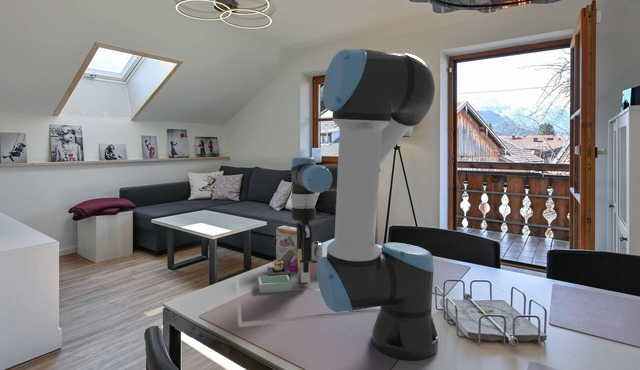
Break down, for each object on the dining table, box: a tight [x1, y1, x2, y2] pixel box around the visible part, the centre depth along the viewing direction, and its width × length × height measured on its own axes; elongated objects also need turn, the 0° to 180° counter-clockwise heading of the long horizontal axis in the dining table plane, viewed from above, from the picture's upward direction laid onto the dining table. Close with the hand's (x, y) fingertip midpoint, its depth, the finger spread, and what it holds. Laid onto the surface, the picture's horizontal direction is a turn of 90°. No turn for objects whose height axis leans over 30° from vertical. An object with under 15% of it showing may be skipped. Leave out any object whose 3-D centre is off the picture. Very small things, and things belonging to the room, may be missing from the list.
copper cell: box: [298, 248, 310, 285], centre depth 119 cm, size 4×4×12 cm
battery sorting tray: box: [256, 256, 324, 295], centre depth 124 cm, size 16×24×6 cm, turn 104°
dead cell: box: [311, 240, 323, 263], centre depth 130 cm, size 4×4×12 cm
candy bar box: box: [275, 225, 298, 273], centre depth 135 cm, size 11×5×16 cm, turn 57°
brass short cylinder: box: [272, 259, 284, 272], centre depth 126 cm, size 4×4×4 cm
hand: (303, 279), depth 119 cm, fingers closed on copper cell, 4 cm apart
